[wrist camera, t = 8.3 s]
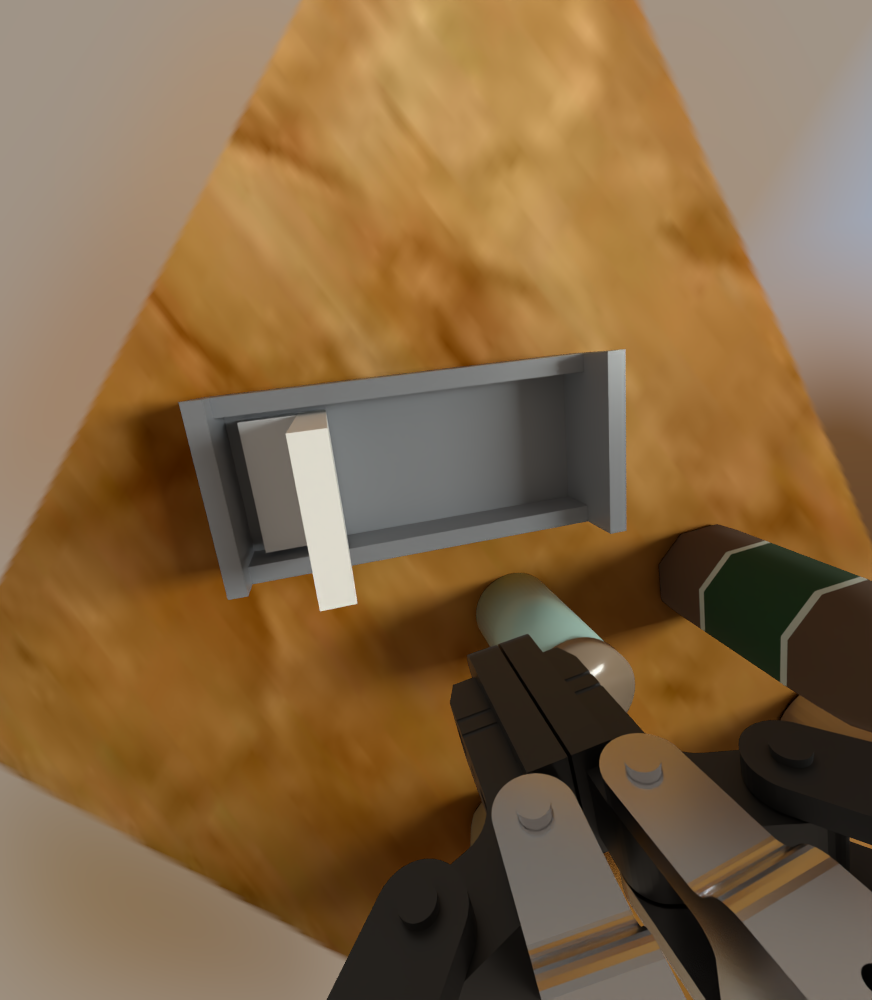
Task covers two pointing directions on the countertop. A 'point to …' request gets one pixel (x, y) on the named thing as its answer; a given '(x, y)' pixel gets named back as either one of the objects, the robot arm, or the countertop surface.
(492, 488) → the gray rectangular tray
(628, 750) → the robot arm
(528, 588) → the jar
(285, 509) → the pusher
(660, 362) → the countertop surface
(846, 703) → the beer bottle
